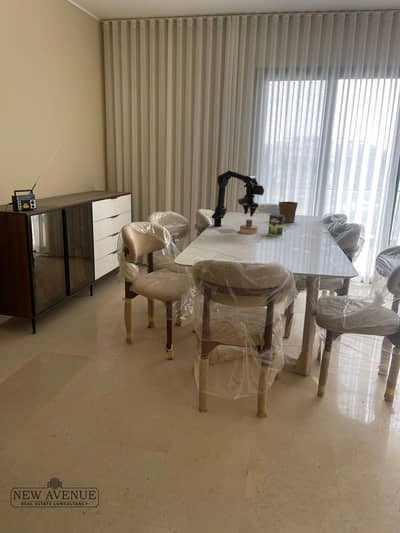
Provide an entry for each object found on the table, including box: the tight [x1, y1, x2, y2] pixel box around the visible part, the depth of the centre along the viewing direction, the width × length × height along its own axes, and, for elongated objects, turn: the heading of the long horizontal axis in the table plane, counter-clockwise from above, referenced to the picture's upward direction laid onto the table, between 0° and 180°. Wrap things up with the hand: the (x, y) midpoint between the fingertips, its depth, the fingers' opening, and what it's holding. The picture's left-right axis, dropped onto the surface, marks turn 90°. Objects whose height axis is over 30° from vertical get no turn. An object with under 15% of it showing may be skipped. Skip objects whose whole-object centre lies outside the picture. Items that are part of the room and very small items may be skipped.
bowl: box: [239, 227, 259, 235], centre depth 285 cm, size 12×12×4 cm
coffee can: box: [267, 213, 284, 237], centre depth 278 cm, size 10×10×14 cm
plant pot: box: [278, 201, 299, 224], centre depth 328 cm, size 16×16×16 cm
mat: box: [214, 228, 239, 234], centre depth 287 cm, size 14×14×1 cm
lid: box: [239, 218, 259, 229], centre depth 283 cm, size 13×13×6 cm
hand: (248, 215), depth 283 cm, fingers open, 9 cm apart
